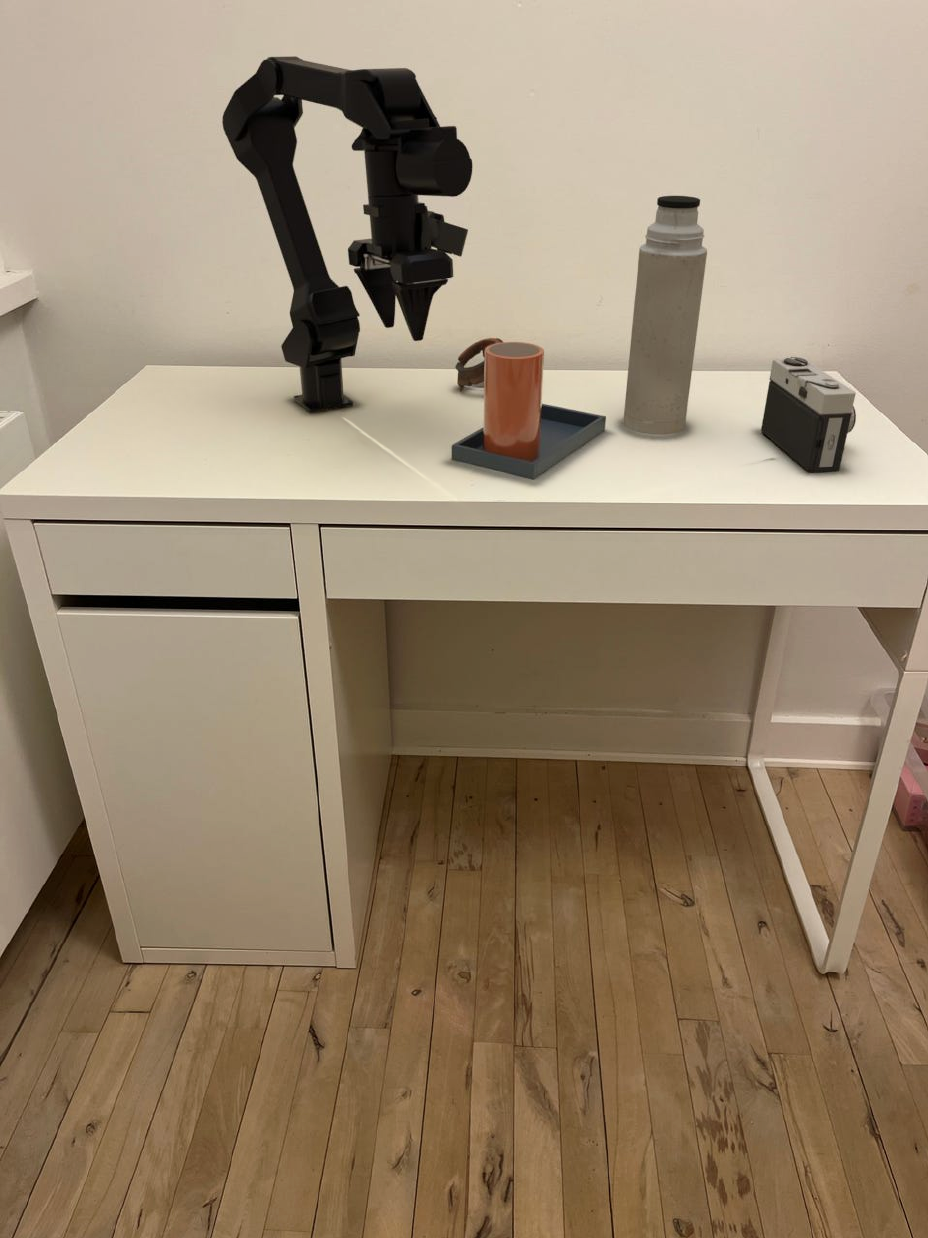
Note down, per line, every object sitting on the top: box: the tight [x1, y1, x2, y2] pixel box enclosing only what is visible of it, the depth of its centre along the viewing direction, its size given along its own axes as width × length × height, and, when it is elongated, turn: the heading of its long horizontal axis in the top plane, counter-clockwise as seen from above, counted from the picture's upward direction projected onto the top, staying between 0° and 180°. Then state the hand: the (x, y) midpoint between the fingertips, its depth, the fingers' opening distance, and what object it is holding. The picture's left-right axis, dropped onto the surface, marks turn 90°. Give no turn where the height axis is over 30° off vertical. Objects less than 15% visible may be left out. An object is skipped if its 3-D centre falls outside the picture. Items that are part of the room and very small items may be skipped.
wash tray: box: [451, 403, 607, 480], centre depth 121 cm, size 19×11×2 cm, turn 148°
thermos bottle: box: [622, 195, 708, 436], centre depth 121 cm, size 8×8×28 cm
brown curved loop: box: [454, 337, 504, 390], centre depth 141 cm, size 12×10×8 cm
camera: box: [760, 356, 857, 473], centre depth 119 cm, size 14×8×10 cm, turn 9°
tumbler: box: [482, 341, 545, 462], centre depth 115 cm, size 7×7×13 cm
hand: (403, 333), depth 119 cm, fingers open, 9 cm apart
